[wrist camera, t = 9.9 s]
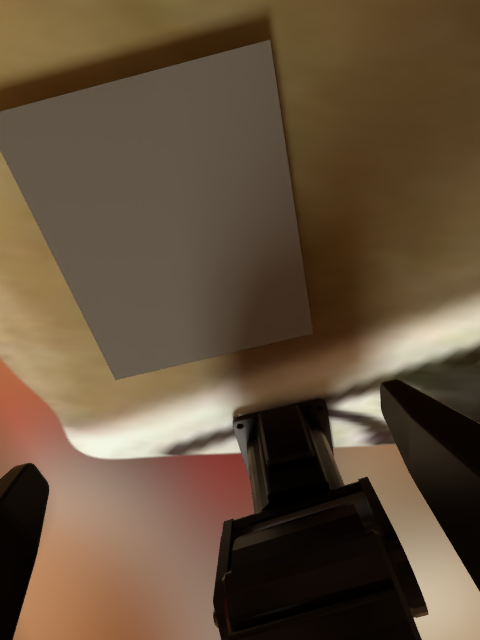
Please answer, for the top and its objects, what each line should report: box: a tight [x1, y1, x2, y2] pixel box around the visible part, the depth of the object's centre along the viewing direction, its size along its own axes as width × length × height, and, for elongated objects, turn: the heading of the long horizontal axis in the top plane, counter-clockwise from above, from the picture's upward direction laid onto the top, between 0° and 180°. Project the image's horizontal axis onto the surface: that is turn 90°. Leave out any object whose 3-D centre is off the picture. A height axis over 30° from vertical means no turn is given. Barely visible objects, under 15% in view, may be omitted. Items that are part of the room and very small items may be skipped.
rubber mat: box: [0, 40, 313, 380], centre depth 18 cm, size 14×12×1 cm
